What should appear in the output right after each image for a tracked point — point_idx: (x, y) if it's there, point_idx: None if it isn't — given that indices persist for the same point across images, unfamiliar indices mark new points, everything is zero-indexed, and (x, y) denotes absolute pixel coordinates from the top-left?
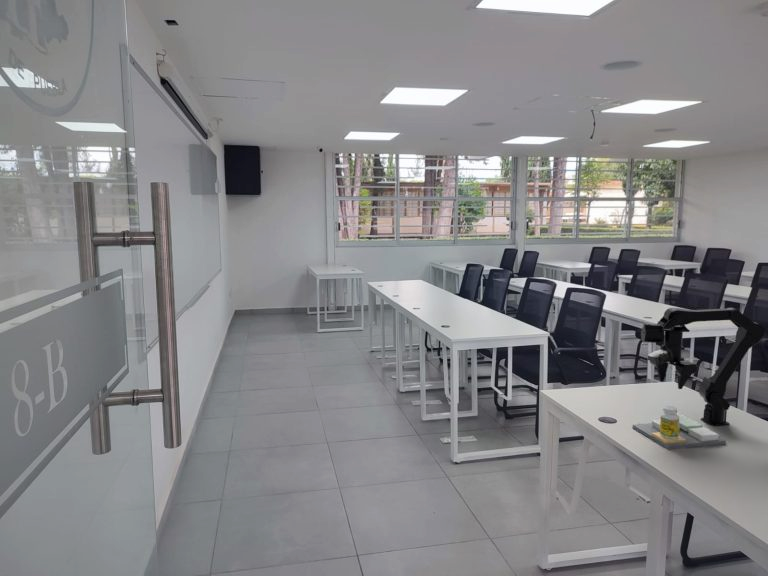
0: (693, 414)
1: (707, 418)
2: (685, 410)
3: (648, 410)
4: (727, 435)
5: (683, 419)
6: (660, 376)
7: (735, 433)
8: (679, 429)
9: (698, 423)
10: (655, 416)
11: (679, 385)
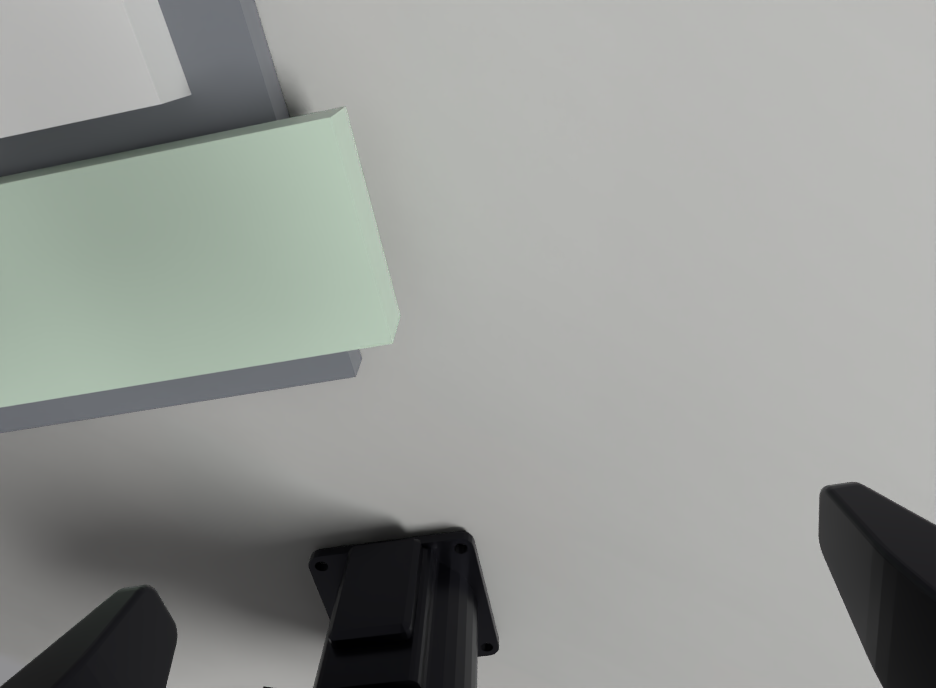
0: (609, 538)
1: (362, 567)
2: (724, 526)
3: (815, 147)
4: (107, 539)
5: (143, 298)
6: (919, 594)
7: (168, 607)
8: (30, 161)
9: (38, 395)
10: (592, 133)
11: (19, 671)
